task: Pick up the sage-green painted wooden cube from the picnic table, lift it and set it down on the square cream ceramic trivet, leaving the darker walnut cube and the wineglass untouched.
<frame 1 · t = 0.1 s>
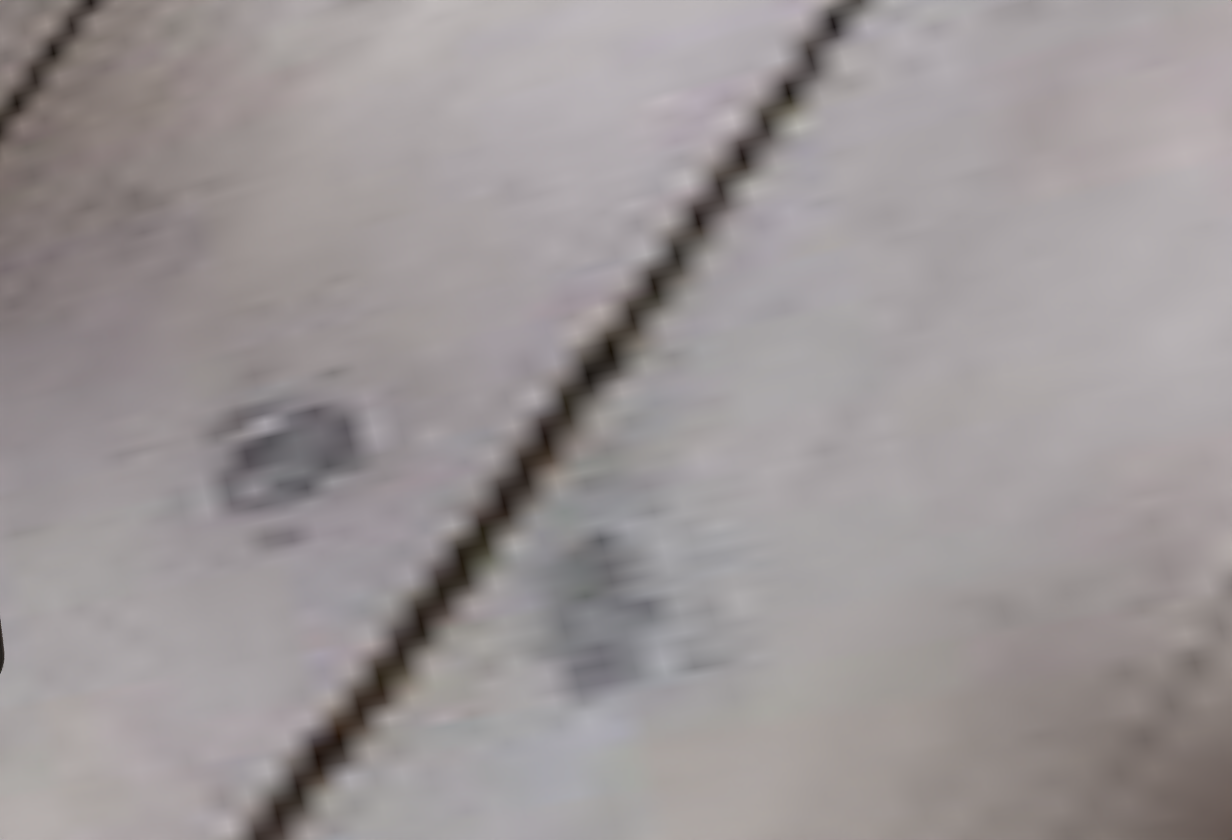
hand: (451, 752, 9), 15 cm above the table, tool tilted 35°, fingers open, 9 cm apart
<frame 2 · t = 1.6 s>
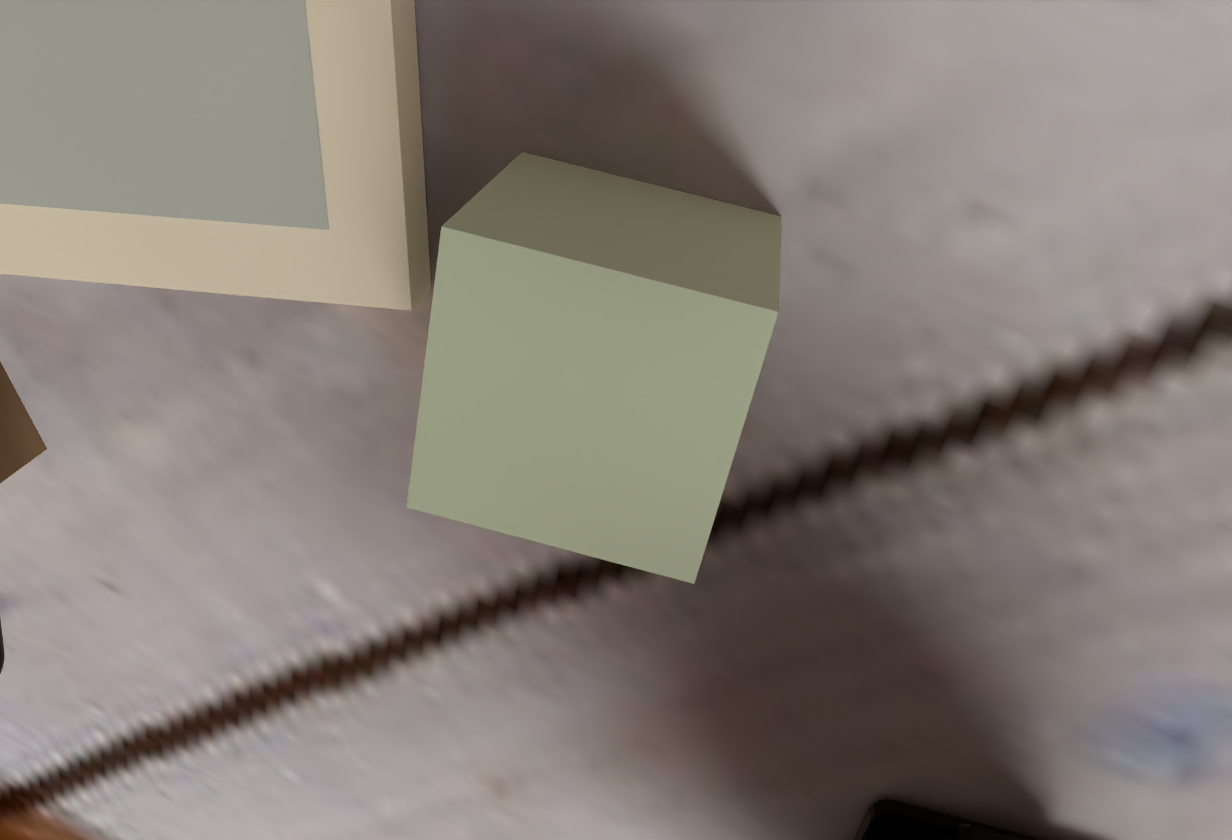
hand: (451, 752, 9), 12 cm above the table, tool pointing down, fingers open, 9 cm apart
sage cube: (624, 304, 20), on the table
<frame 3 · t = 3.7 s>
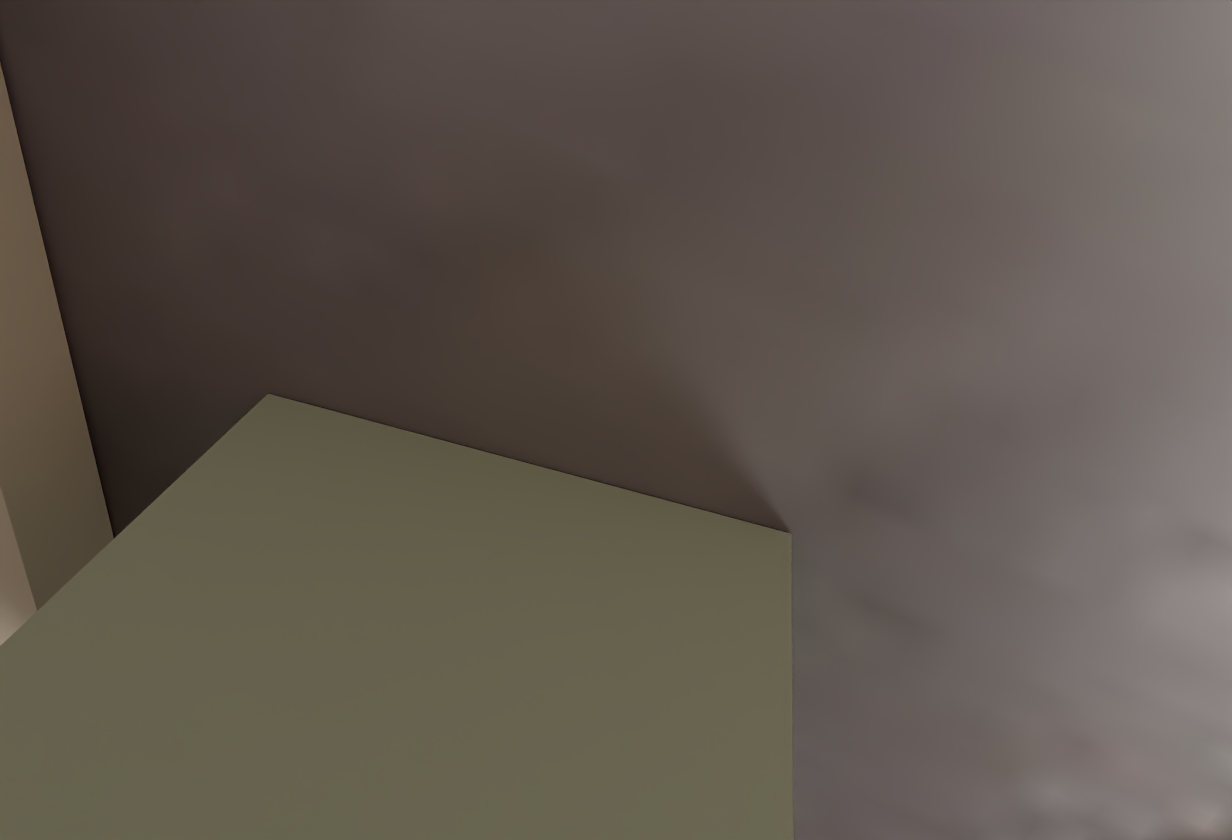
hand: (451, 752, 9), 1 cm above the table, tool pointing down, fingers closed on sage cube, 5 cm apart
sage cube: (487, 662, 10), on the table, touching gripper
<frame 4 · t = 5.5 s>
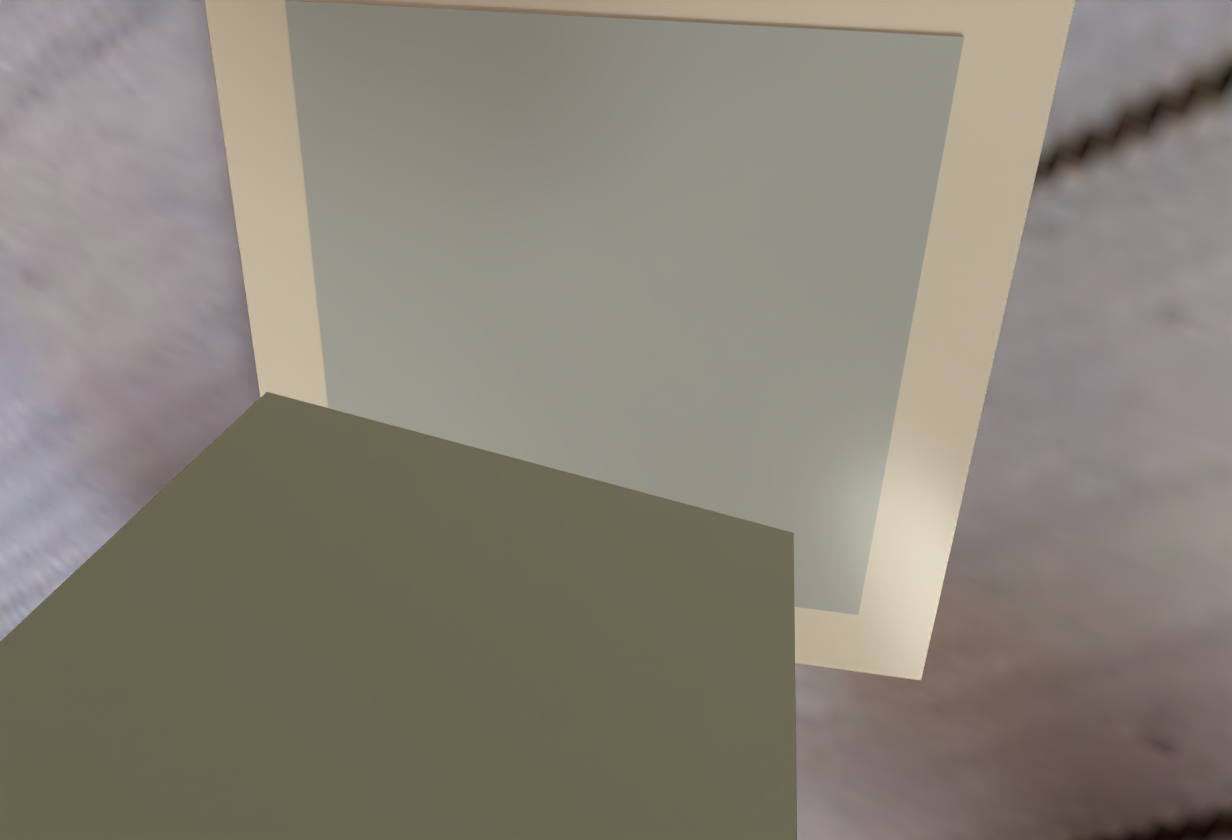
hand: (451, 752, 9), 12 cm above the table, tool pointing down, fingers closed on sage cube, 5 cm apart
sage cube: (487, 662, 10), point 10 cm above the table, touching gripper
trivet: (611, 313, 19), on the table
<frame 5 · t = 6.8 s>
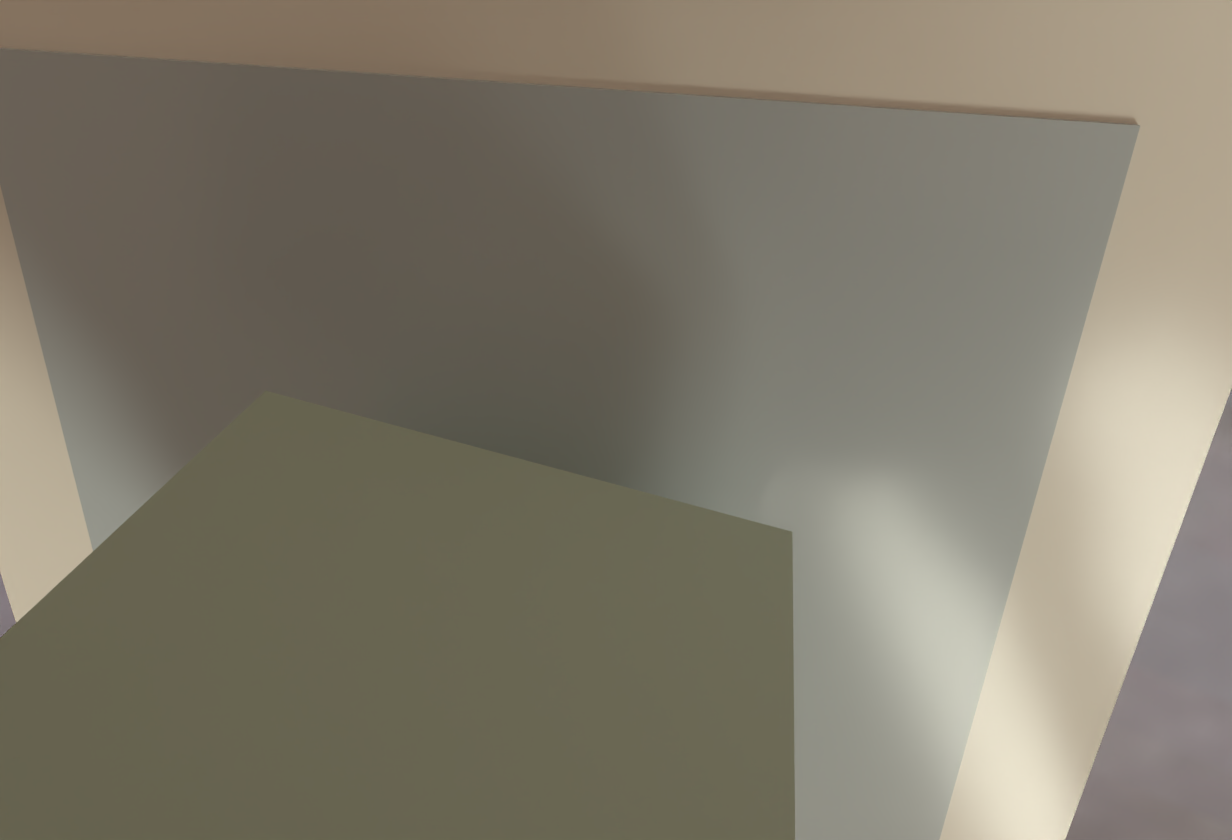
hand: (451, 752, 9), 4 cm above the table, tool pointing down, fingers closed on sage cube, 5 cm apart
sage cube: (486, 661, 10), point 3 cm above the table, touching gripper
trivet: (539, 511, 13), on the table
when the fingers open (3 cm above the table, at t = 7.8 s): sage cube stays where it is, resting on trivet.
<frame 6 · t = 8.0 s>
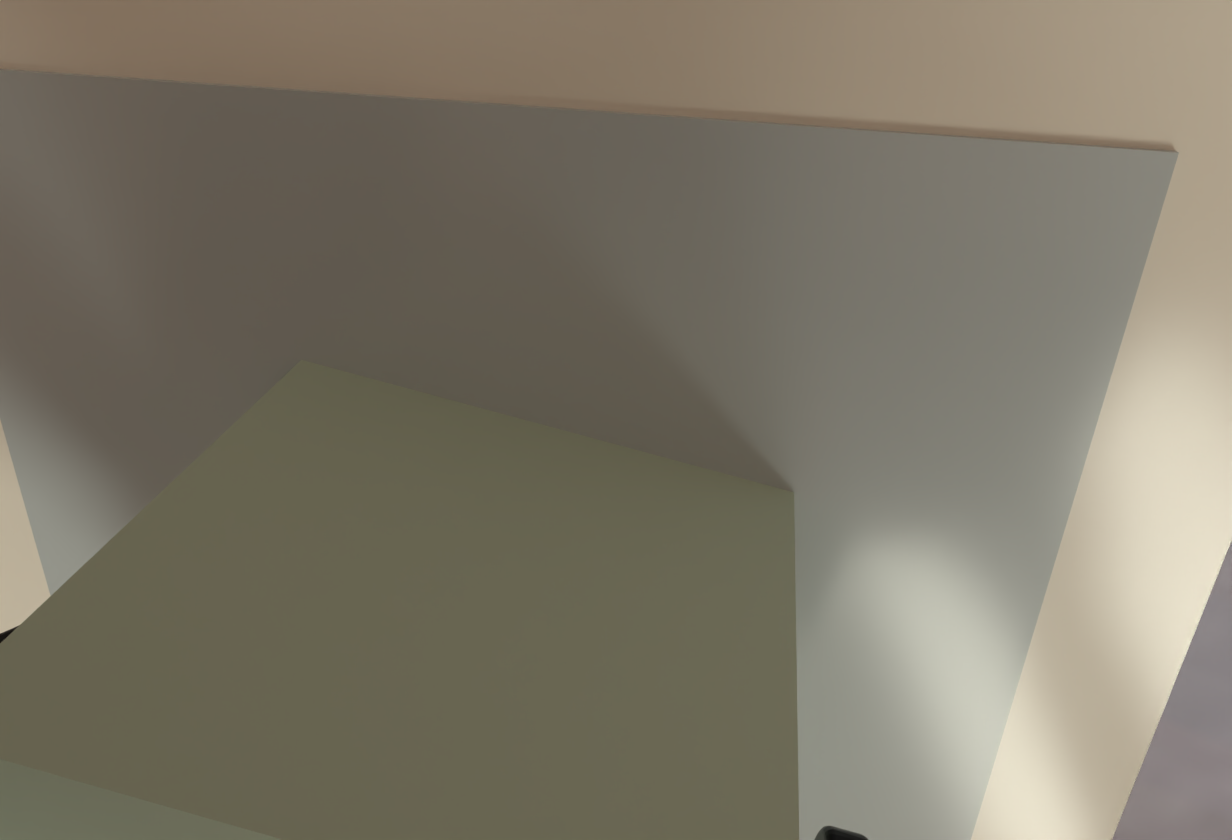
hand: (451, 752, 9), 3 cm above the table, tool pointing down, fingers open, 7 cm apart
sage cube: (505, 618, 11), point 1 cm above the table, touching trivet
trivet: (526, 553, 12), on the table
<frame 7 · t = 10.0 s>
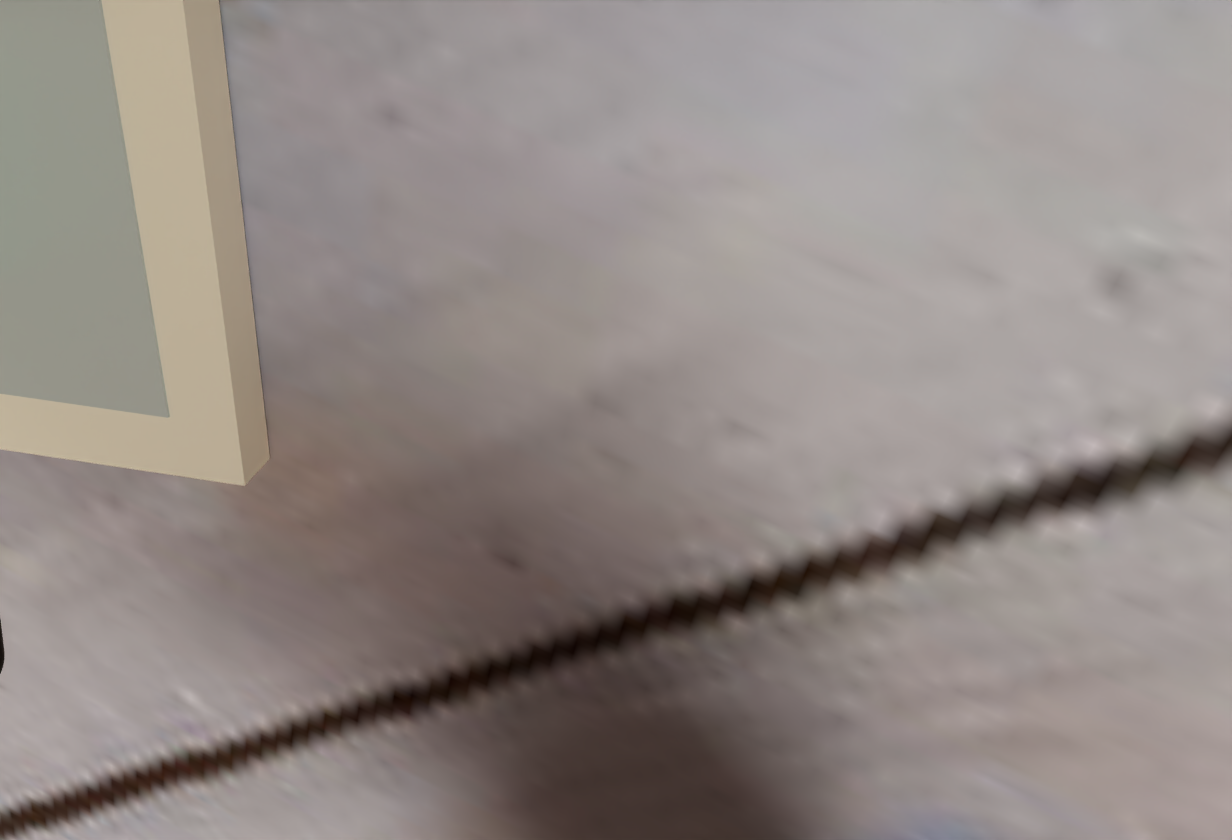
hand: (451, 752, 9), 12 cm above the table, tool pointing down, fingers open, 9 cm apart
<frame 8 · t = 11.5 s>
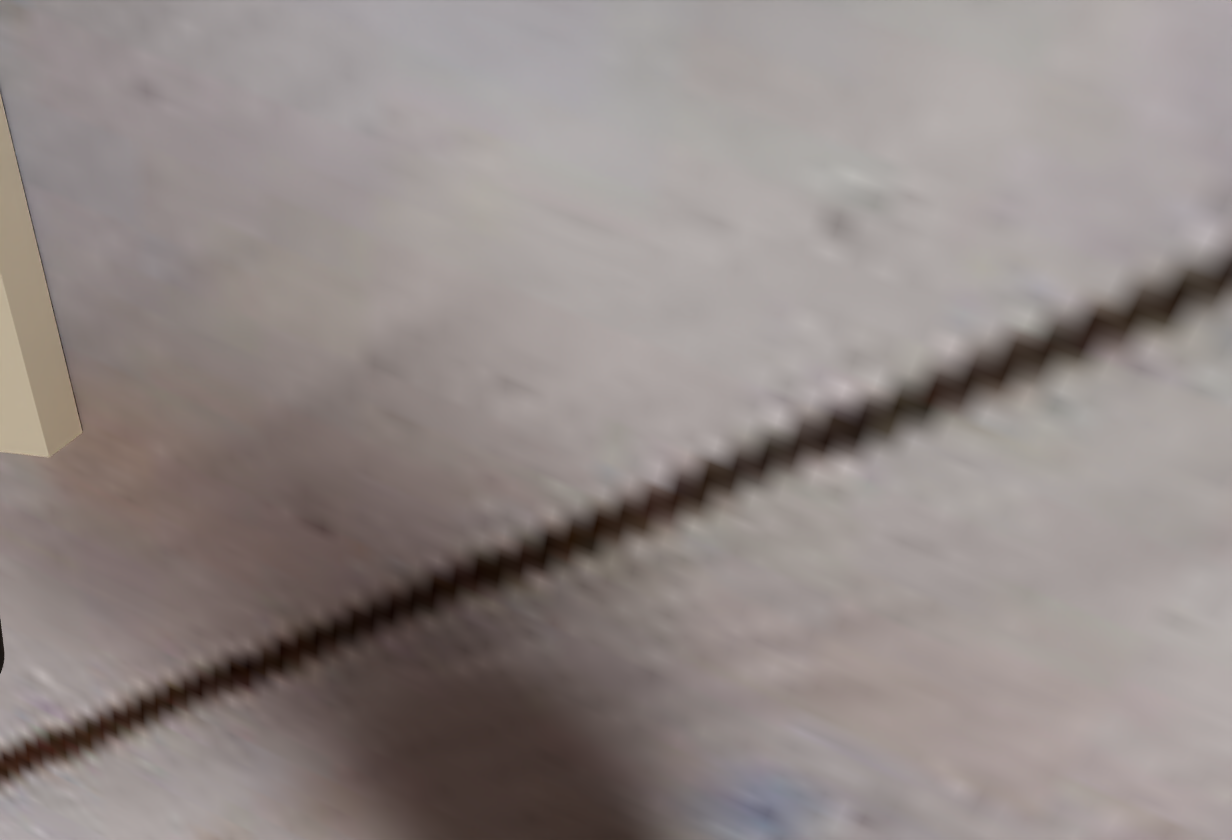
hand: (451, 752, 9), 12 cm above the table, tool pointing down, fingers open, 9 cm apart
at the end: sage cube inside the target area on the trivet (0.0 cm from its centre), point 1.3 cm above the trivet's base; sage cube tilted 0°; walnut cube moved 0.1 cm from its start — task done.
